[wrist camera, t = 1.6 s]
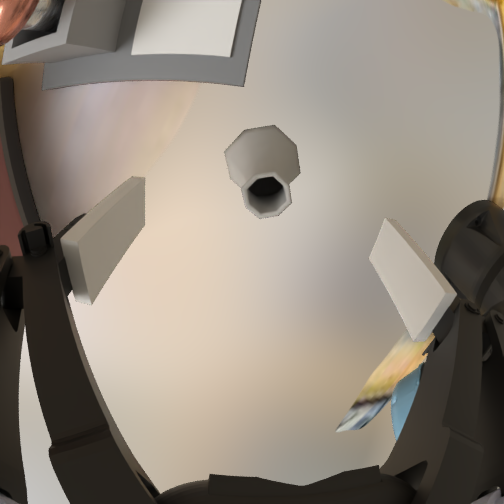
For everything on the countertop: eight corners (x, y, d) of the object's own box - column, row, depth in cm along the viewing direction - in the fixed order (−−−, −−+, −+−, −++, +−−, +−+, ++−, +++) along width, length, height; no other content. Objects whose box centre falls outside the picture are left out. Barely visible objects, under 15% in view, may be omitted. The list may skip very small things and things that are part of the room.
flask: (278, 112, 23) (292, 119, 15) (311, 176, 27) (338, 217, 18) (211, 148, 25) (188, 176, 17) (248, 207, 29) (245, 260, 20)
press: (268, -32, 15) (274, -83, 6) (243, 87, 22) (236, 78, 13) (73, -15, 13) (20, -32, 5) (52, 89, 20) (-10, 100, 12)
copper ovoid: (99, -23, 10) (40, -51, 3) (82, 39, 13) (11, 31, 6) (44, -5, 9) (-16, -15, 2) (31, 53, 13) (-37, 58, 6)
